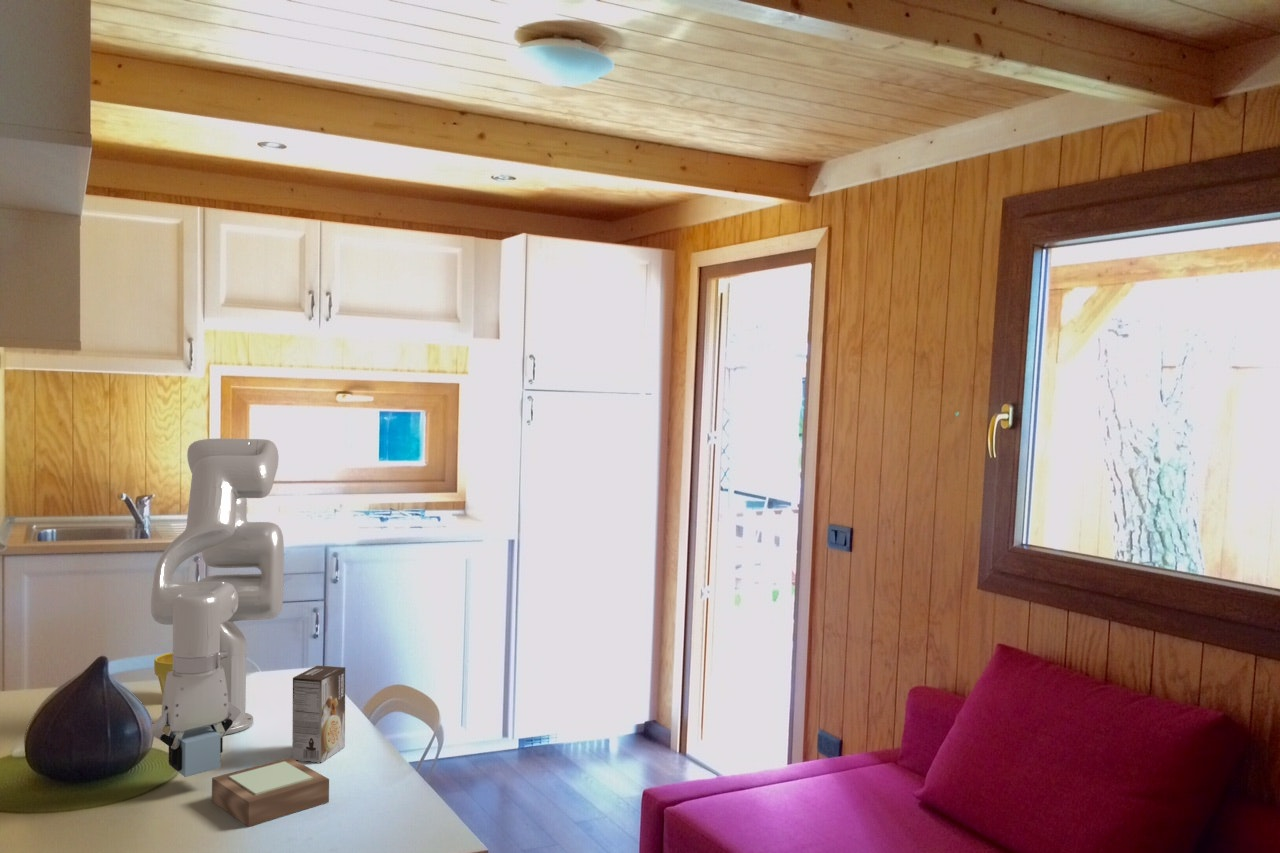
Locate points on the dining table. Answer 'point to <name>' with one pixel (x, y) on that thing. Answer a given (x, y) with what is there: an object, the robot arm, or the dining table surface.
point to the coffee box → (318, 713)
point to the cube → (200, 751)
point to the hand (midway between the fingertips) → (195, 762)
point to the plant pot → (163, 668)
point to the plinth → (269, 791)
